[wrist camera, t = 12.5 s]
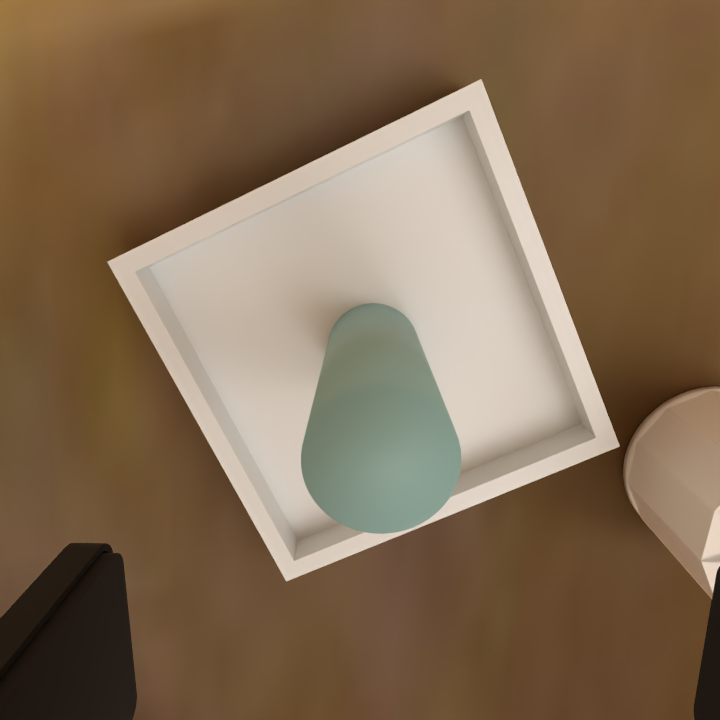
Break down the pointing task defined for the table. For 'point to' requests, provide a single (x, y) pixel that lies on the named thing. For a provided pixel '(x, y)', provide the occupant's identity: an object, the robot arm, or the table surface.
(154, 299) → the tray
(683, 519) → the cup
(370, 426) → the peg
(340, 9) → the table surface
